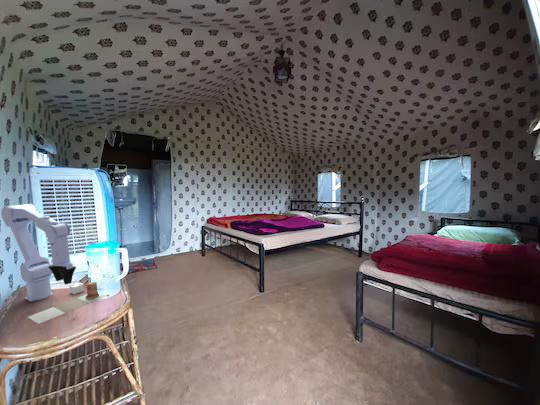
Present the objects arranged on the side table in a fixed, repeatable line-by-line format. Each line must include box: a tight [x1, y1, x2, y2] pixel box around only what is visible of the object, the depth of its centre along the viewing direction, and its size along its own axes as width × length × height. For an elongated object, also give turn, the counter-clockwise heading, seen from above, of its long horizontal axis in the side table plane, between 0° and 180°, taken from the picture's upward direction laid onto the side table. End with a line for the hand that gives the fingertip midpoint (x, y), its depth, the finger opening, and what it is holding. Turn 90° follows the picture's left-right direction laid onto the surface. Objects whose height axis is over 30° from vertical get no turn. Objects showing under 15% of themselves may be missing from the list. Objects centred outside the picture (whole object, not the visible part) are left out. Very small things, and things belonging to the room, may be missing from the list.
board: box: [27, 293, 110, 325], centre depth 106 cm, size 10×25×1 cm, turn 152°
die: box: [69, 282, 85, 295], centre depth 118 cm, size 4×4×4 cm
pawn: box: [85, 281, 99, 299], centre depth 113 cm, size 5×5×6 cm
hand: (63, 281), depth 109 cm, fingers open, 7 cm apart
